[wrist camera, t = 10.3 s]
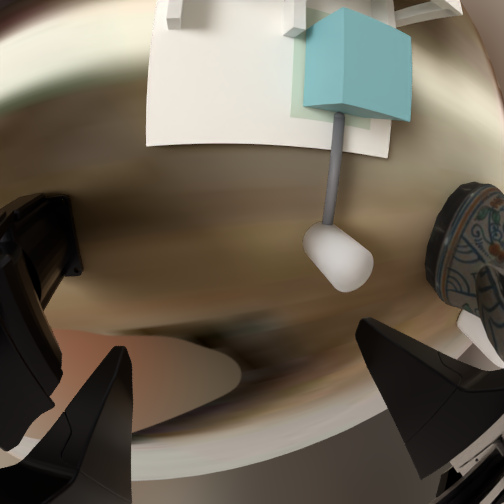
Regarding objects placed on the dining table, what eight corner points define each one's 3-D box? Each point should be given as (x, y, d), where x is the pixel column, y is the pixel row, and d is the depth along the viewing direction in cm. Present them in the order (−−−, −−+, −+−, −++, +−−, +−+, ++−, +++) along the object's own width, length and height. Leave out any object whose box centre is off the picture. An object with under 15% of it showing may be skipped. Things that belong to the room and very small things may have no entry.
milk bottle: (452, 333, 39) (512, 399, 22) (459, 306, 35) (530, 378, 18) (475, 312, 39) (534, 370, 22) (482, 284, 35) (551, 346, 18)
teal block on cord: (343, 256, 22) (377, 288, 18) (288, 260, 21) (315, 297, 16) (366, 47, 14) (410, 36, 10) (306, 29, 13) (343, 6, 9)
